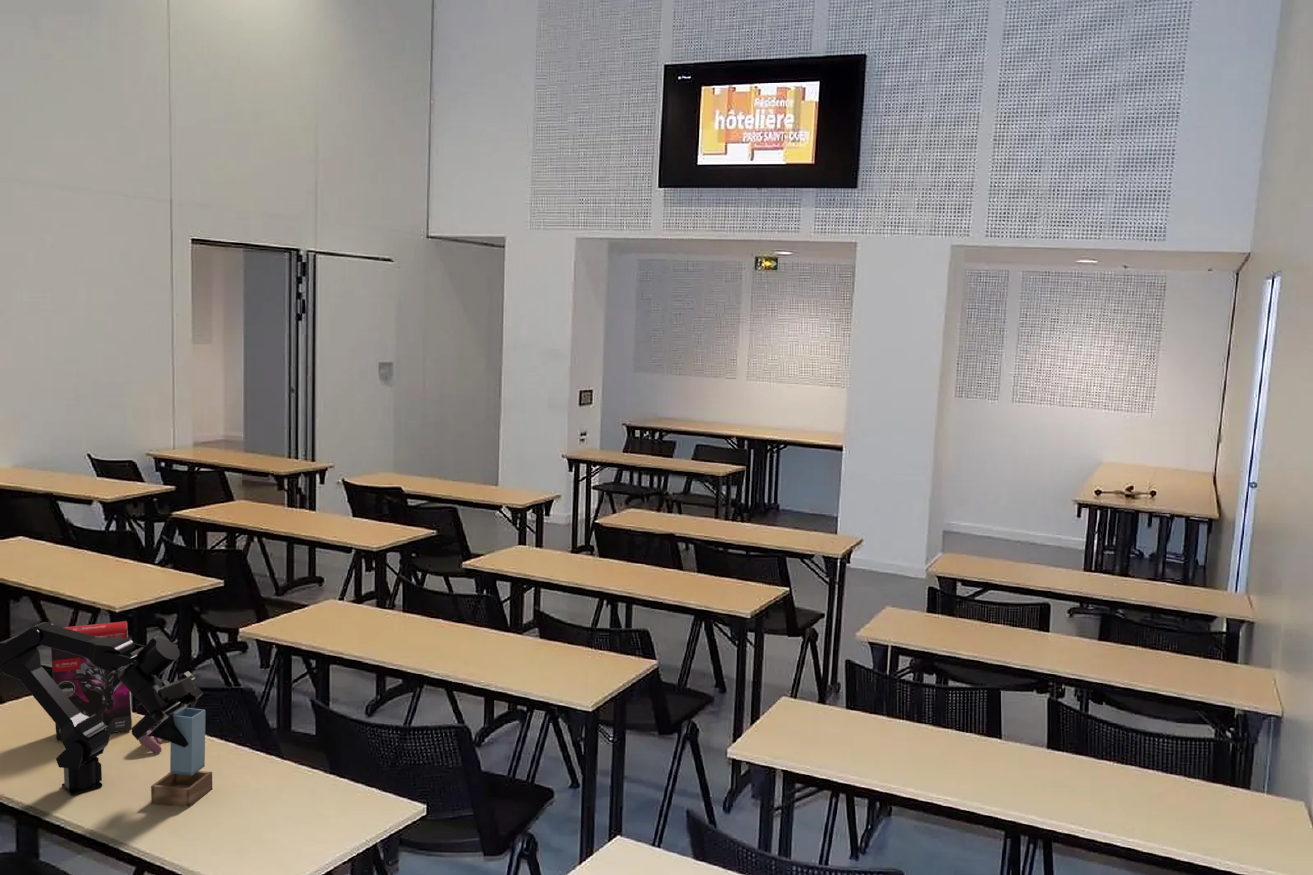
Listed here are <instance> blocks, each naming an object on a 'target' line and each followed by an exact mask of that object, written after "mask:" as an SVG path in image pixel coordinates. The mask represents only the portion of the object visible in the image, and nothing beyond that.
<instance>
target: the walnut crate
mask: <svg viewBox="0 0 1313 875" xmlns="http://www.w3.org/2000/svg"><path fill="white" fill-rule="evenodd" d="M212 790H213V771H205V770H199V771H198V772H196V773H195V774H193V775H192V776H189V775H181V774H173V773H170V772H168V773H167V774H166V775H164V776H163V777H162V778H160V779H159V780H157V781H156V782H155V783H153V784H152V785H151V786H150V794H151V795H150V797H151V804H152V805H160V806H161V805H162V806H172V807H180V808H181V807H184V808H191V807H192V806H193V805H195V804H196V803H197V802H198V801H200V800H201V799H202V798H203V797H205V796H206V795H207V794H208V793H209V792H211V791H212Z"/></svg>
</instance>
